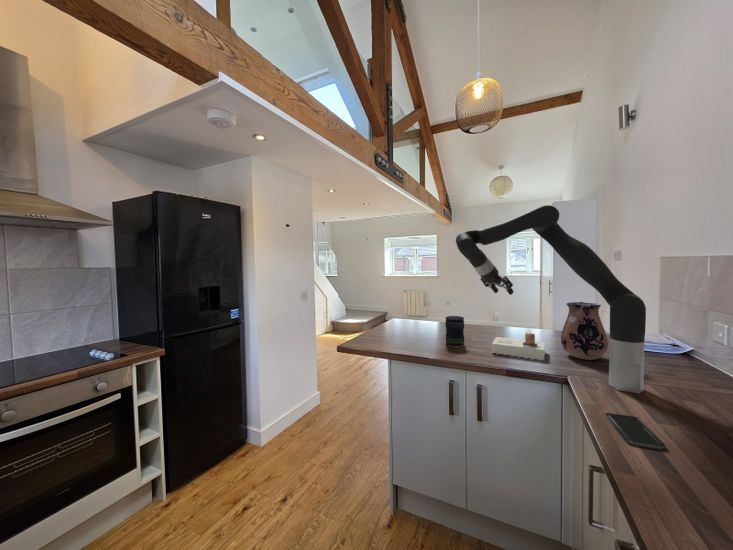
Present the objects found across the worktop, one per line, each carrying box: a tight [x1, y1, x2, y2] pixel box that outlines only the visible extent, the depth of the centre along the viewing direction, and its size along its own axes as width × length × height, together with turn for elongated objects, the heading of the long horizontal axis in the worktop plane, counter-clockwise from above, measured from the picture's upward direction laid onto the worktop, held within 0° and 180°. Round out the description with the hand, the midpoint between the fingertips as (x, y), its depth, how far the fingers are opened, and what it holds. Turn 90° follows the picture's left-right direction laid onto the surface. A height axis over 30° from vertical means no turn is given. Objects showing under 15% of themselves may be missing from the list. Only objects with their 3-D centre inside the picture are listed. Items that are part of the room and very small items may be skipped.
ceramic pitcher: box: [560, 301, 609, 361], centre depth 138 cm, size 18×21×25 cm
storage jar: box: [445, 315, 465, 347], centre depth 161 cm, size 10×10×15 cm
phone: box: [605, 412, 667, 451], centre depth 78 cm, size 8×1×15 cm
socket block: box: [491, 336, 546, 361], centre depth 145 cm, size 14×22×5 cm, turn 58°
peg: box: [524, 332, 536, 346], centre depth 142 cm, size 4×4×8 cm
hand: (504, 292), depth 138 cm, fingers open, 8 cm apart
